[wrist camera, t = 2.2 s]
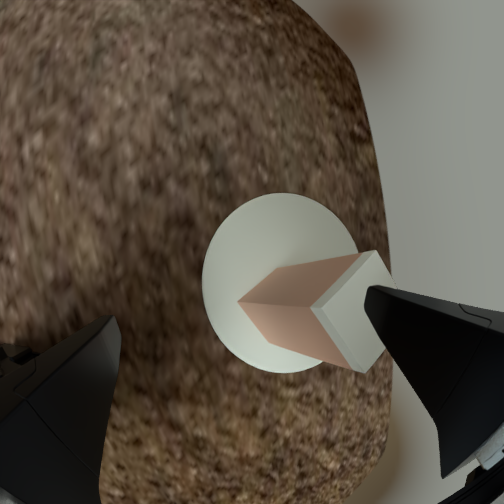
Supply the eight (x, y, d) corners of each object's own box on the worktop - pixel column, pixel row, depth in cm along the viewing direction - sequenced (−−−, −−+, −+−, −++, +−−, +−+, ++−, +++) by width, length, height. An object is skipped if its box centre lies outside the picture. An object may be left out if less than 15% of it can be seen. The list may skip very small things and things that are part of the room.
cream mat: (358, 362, 29) (360, 362, 28) (199, 377, 23) (200, 378, 23) (358, 207, 31) (361, 206, 30) (207, 182, 25) (208, 180, 25)
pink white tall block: (268, 342, 25) (365, 373, 14) (236, 301, 24) (321, 308, 13) (305, 308, 27) (410, 314, 15) (276, 268, 26) (376, 249, 15)
